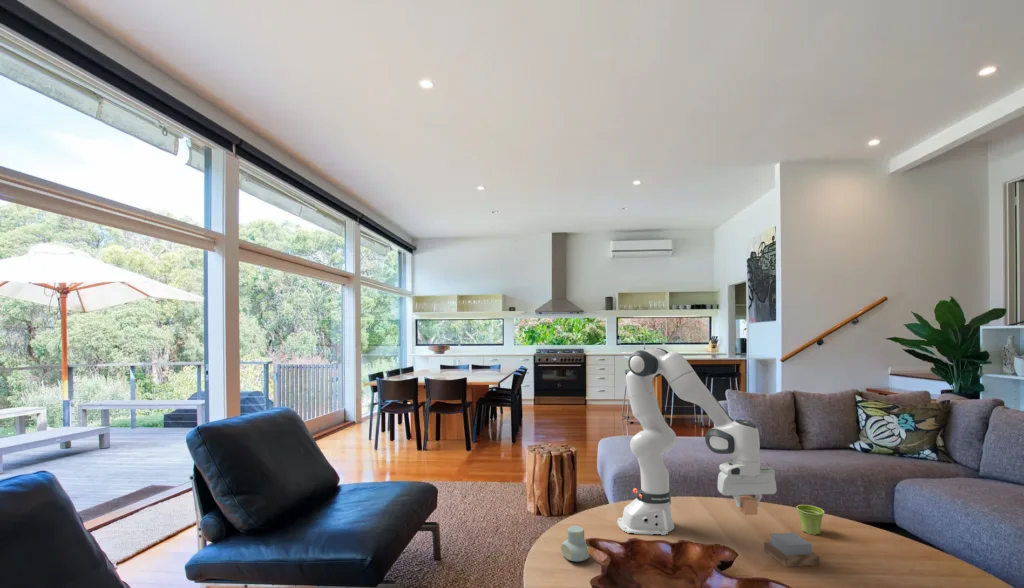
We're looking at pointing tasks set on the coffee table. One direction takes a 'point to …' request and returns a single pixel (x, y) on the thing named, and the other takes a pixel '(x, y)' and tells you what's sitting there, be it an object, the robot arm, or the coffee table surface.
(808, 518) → the plant pot
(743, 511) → the rust cube
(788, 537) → the upper tower block
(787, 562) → the lower tower block
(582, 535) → the air freshener
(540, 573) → the coffee table surface
